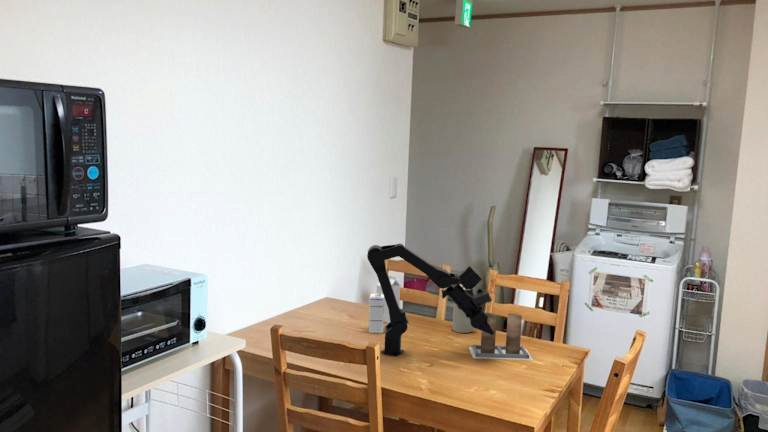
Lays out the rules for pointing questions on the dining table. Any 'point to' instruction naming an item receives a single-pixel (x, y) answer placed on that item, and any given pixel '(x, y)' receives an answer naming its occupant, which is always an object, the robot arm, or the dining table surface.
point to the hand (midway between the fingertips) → (490, 329)
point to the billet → (489, 335)
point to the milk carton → (396, 291)
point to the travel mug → (461, 317)
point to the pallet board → (499, 353)
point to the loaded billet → (513, 333)
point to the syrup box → (376, 313)
